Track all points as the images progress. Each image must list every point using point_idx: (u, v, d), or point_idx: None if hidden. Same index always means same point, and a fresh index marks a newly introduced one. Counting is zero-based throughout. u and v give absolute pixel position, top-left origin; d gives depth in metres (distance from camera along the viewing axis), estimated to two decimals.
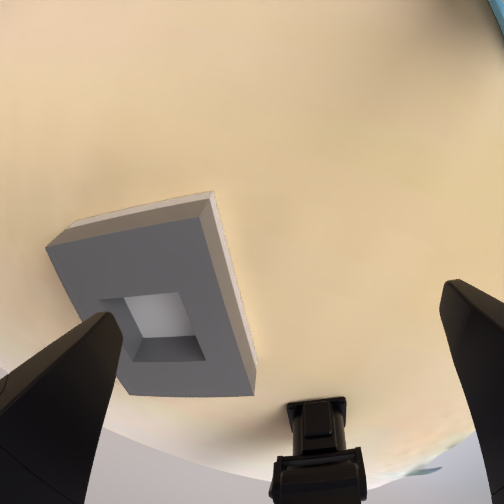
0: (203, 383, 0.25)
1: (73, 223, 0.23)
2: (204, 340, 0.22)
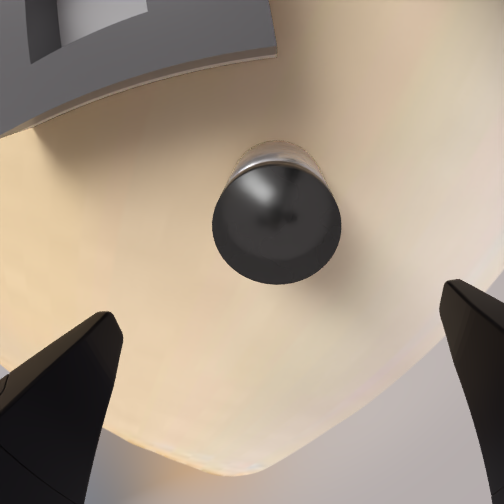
0: None
1: None
2: None
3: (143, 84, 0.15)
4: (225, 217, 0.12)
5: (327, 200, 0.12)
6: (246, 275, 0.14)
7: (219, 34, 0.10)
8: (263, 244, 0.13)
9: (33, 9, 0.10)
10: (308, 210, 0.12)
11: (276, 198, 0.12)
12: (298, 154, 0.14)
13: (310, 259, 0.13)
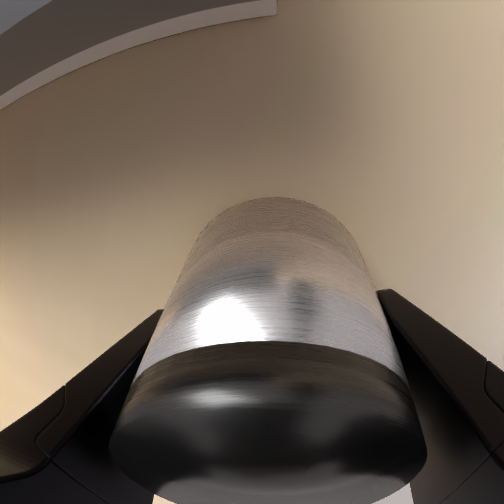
0: None
1: None
2: None
3: (23, 94, 0.07)
4: (139, 463, 0.04)
5: (408, 451, 0.03)
6: None
7: None
8: (236, 497, 0.04)
9: None
10: (352, 469, 0.04)
11: (266, 459, 0.03)
12: (329, 259, 0.06)
13: None
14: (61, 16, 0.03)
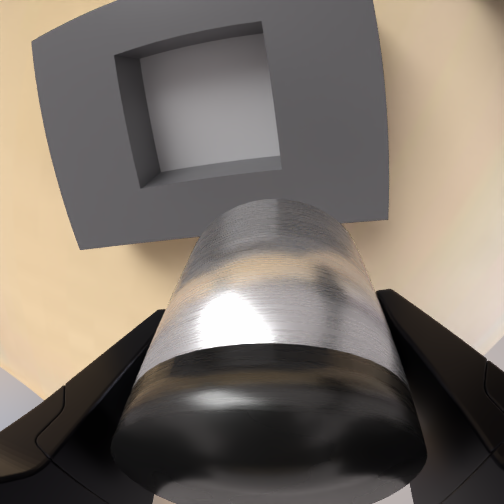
0: (335, 41, 0.11)
1: None
2: (207, 19, 0.11)
3: None
4: (140, 464, 0.04)
5: (408, 452, 0.03)
6: None
7: (345, 205, 0.14)
8: (237, 498, 0.04)
9: (131, 116, 0.13)
10: (353, 470, 0.04)
11: (267, 460, 0.03)
12: (330, 261, 0.06)
13: None
14: None
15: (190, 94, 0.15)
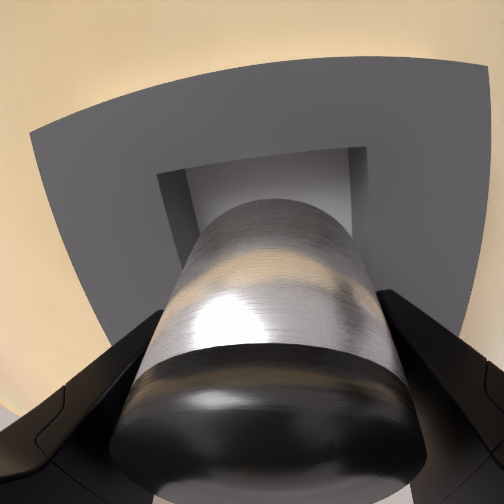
0: (447, 176, 0.09)
1: None
2: (294, 137, 0.09)
3: None
4: (139, 464, 0.04)
5: (407, 453, 0.03)
6: None
7: None
8: (236, 498, 0.04)
9: (184, 249, 0.12)
10: (352, 470, 0.04)
11: (266, 460, 0.03)
12: (329, 260, 0.06)
13: None
14: None
15: None
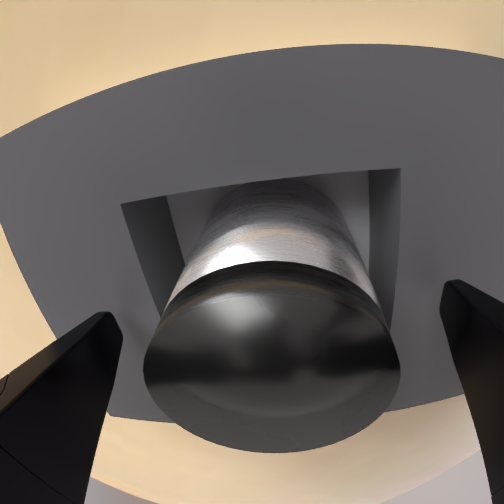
0: (493, 207, 0.07)
1: None
2: (303, 154, 0.06)
3: None
4: (167, 376, 0.06)
5: (382, 355, 0.05)
6: (218, 442, 0.07)
7: (441, 388, 0.10)
8: (245, 415, 0.06)
9: (163, 293, 0.09)
10: (339, 372, 0.05)
11: (271, 355, 0.05)
12: (318, 218, 0.07)
13: (331, 430, 0.06)
14: None
15: None
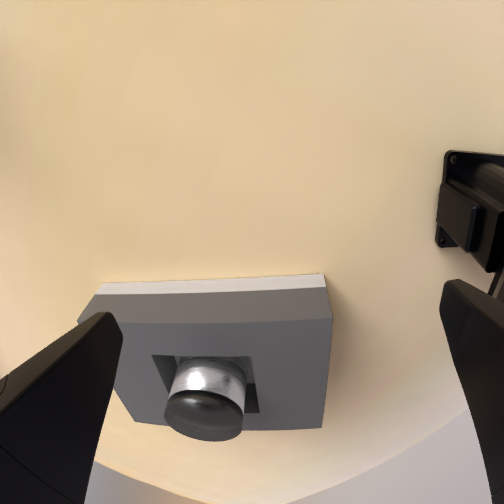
0: (298, 366, 0.19)
1: None
2: (215, 351, 0.19)
3: None
4: (171, 415, 0.18)
5: (231, 417, 0.17)
6: (187, 435, 0.19)
7: (296, 424, 0.23)
8: (195, 427, 0.19)
9: (166, 377, 0.22)
10: (220, 419, 0.18)
11: (200, 413, 0.18)
12: (222, 365, 0.20)
13: (224, 435, 0.19)
14: None
15: None
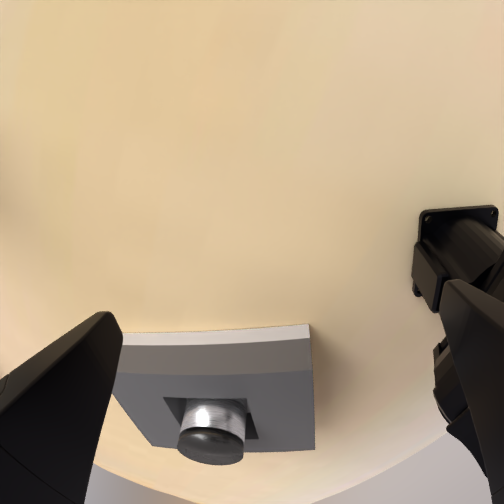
0: (287, 404, 0.22)
1: None
2: (215, 394, 0.21)
3: None
4: (183, 447, 0.21)
5: (233, 447, 0.20)
6: (198, 461, 0.22)
7: (291, 447, 0.25)
8: (204, 455, 0.21)
9: (177, 411, 0.24)
10: (224, 449, 0.20)
11: (206, 445, 0.20)
12: (223, 403, 0.22)
13: (229, 460, 0.21)
14: None
15: None
